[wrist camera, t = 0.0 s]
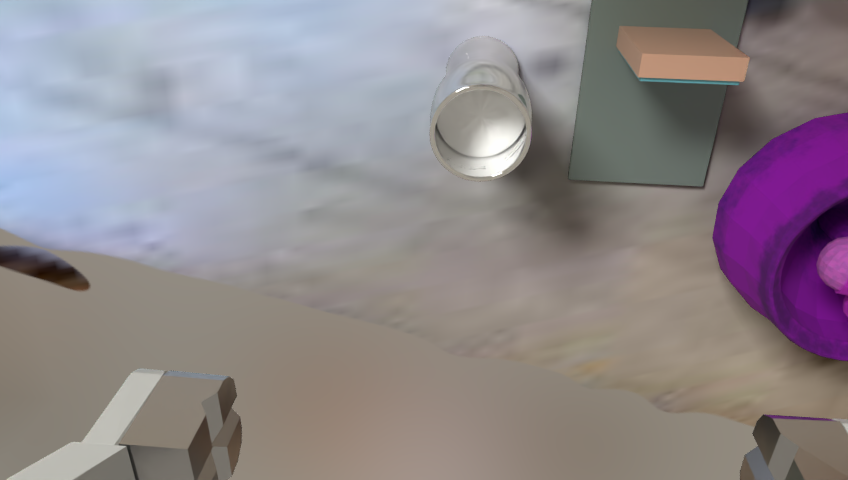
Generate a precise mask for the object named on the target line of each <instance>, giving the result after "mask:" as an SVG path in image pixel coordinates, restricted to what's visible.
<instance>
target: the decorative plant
mask: <svg viewBox="0 0 848 480" xmlns="http://www.w3.org/2000/svg"><path fill="white" fill-rule="evenodd" d="M713 241H714V245H715V249H716V253H717V257H718V261H719V265H720V268H721V270H722V271H723V273H724V274H725V275H726V277H727V278H728V280H729V281H730V282H731V284H732V285H733V286H734V287H735V288H736V290H737V291H738V292H739V293H740V294H741V296H742V297H743V298H744V299H745V300H746V302H747V303H748V304H749V305H750V306H751V307H752V308H753V309H755V310H756V311H758V312H759V313H760V314H762V315H763V316H765V317H766V318H768V319H769V320H770V321H771V322H772V323H773V324H774V325H775V326H776V327H777V328H778V329H779V330H780V331H781V332H782V333H783V334H784V335H785V336H786V337H787V338H788V339H789V340H790V341H792V342H793V343H795V344H797V345H798V346H800V347H801V348H803V349H805V350H807V351H809V352H812V353H814V354H817V355H819V356H822V357H826V358H831V359H835V360H842V361H848V113H843V114H837V115H831V116H825V117H819V118H814V119H812V120H810V121H808V122H806V123H804V124H802V125H800V126H798V127H796V128H794V129H792V130H790V131H788V132H786V133H784V134H782V135H780V136H778V137H776V138H774V139H772V140H771V141H770V142H769V143H767V144H766V145H765V146H764V147H763V148H762V149H761V150H760V151H758V152H757V153H756V154H755V155H754V156H753V157H752V158H751V159H749V160H748V161H747V162H746V163H745V164H744V165H743V166H742V167H740V168H739V170H738V171H737V173H736V175H735V176H734V178H733V180H732V181H731V183H730V185H729V187H728V188H727V190H726V192H725V193H724V195H723V197H722V198H721V200H720V202H719V204H718V210H717V215H716V221H715V226H714V232H713Z"/></svg>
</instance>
